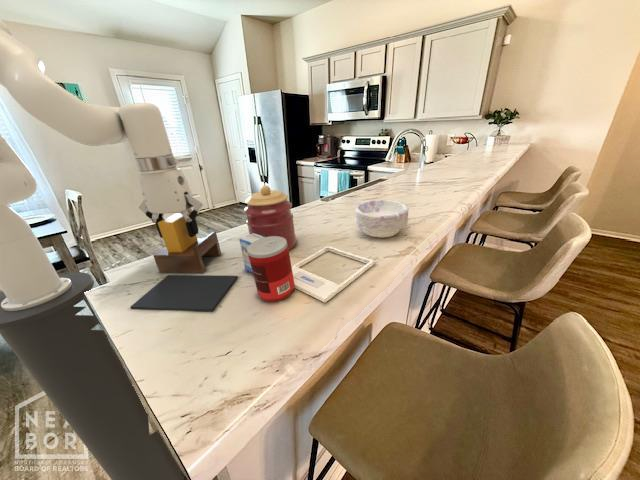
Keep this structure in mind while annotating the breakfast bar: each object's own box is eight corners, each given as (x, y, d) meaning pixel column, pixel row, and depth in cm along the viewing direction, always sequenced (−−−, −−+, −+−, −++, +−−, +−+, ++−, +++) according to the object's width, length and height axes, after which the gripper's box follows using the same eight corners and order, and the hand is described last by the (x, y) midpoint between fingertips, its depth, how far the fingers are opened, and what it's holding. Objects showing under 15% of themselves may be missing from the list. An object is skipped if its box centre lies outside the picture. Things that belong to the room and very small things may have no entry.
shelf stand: (159, 272, 67) (150, 248, 64) (182, 254, 76) (175, 232, 73) (203, 272, 65) (195, 247, 62) (221, 254, 74) (215, 231, 71)
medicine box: (245, 270, 65) (238, 238, 61) (259, 262, 68) (253, 231, 64) (265, 280, 60) (258, 246, 56) (279, 271, 63) (274, 239, 59)
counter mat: (131, 309, 54) (129, 306, 54) (168, 277, 65) (167, 275, 64) (212, 311, 51) (212, 309, 51) (237, 277, 62) (237, 275, 62)
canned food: (298, 279, 59) (291, 235, 54) (289, 303, 52) (279, 255, 47) (266, 279, 60) (256, 236, 55) (252, 302, 53) (240, 255, 48)
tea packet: (167, 252, 66) (157, 222, 62) (184, 240, 72) (175, 212, 69) (182, 252, 65) (172, 222, 62) (197, 240, 72) (189, 212, 68)
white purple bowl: (392, 247, 70) (393, 219, 67) (345, 235, 80) (344, 210, 76) (415, 228, 81) (417, 203, 77) (371, 219, 90) (372, 197, 87)
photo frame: (276, 274, 60) (327, 245, 71) (276, 278, 60) (327, 248, 72) (324, 298, 50) (374, 260, 62) (325, 302, 51) (374, 264, 63)
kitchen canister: (284, 233, 85) (276, 178, 77) (305, 246, 75) (298, 184, 67) (245, 245, 78) (232, 186, 71) (262, 261, 68) (249, 195, 61)
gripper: (201, 159, 62) (218, 229, 69) (135, 163, 65) (159, 230, 72) (182, 165, 55) (203, 241, 63) (109, 169, 58) (138, 242, 65)
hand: (179, 234), depth 67 cm, fingers open, 7 cm apart
